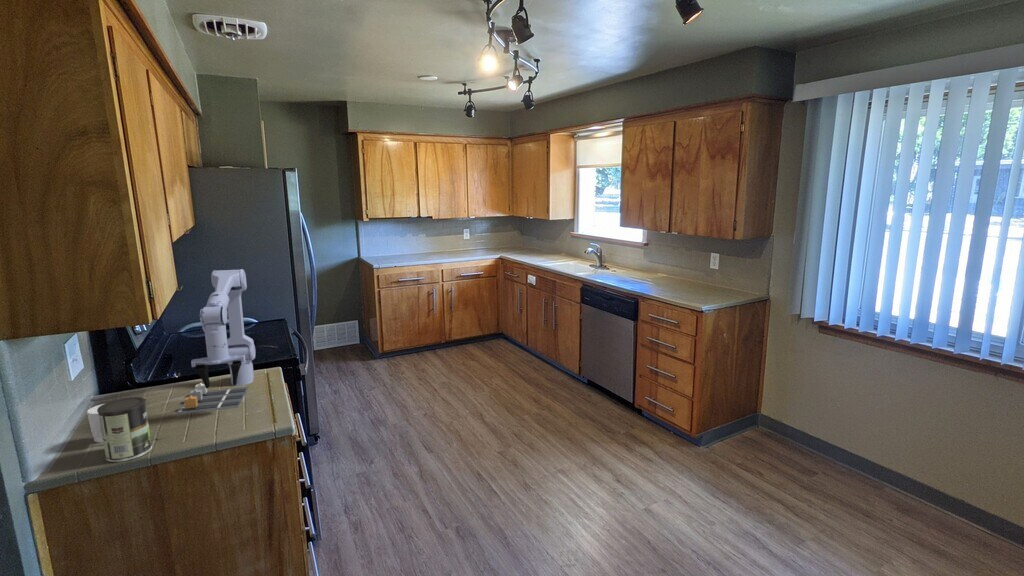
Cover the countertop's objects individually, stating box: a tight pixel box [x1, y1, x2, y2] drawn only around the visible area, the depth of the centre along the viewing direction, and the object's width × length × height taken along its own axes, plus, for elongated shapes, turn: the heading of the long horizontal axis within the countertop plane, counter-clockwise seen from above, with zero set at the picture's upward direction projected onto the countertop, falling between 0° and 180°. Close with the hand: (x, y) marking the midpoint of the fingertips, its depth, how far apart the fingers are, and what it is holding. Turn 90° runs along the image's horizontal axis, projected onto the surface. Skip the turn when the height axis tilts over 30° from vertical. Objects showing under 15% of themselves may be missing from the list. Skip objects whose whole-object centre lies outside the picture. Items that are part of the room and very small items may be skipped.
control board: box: [174, 386, 249, 416], centre depth 169 cm, size 19×18×1 cm
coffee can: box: [97, 396, 153, 463], centre depth 135 cm, size 10×10×14 cm
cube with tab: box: [194, 382, 208, 394], centre depth 172 cm, size 2×3×4 cm, turn 108°
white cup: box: [86, 403, 105, 444], centre depth 142 cm, size 8×8×10 cm
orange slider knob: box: [184, 395, 198, 408], centre depth 161 cm, size 2×3×4 cm, turn 108°
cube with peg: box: [189, 389, 203, 401], centre depth 167 cm, size 2×3×4 cm, turn 108°
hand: (221, 385), depth 157 cm, fingers open, 7 cm apart
